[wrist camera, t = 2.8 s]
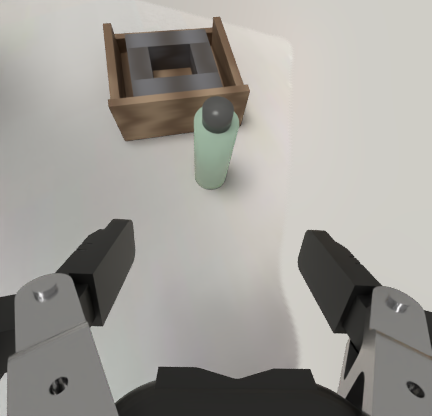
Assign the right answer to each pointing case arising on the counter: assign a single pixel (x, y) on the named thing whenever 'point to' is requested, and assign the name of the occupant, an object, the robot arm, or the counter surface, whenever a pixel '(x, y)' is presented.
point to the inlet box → (169, 78)
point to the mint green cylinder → (214, 141)
